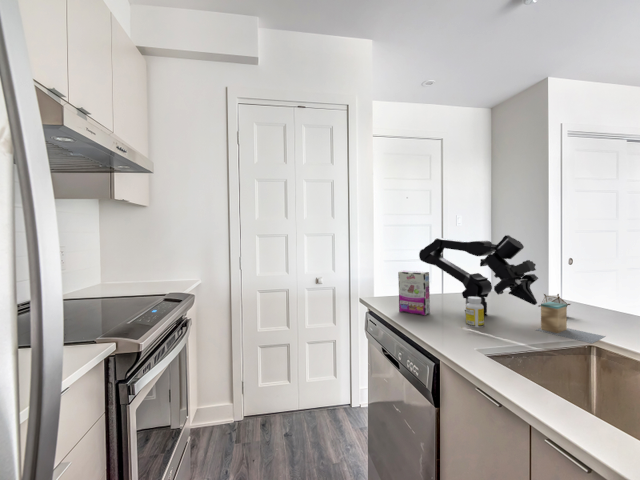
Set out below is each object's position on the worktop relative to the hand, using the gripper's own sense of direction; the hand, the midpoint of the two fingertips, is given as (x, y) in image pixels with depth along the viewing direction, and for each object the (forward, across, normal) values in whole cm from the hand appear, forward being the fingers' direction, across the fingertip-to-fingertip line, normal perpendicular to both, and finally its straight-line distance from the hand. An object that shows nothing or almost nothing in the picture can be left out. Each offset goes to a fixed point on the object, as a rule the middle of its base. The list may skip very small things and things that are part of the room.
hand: (535, 304), depth 100 cm
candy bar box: (-20, -18, +31) cm, 41 cm away
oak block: (+9, 0, +2) cm, 9 cm away
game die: (+4, +20, +8) cm, 22 cm away
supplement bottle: (-3, -15, +14) cm, 21 cm away
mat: (+12, 0, -1) cm, 12 cm away
